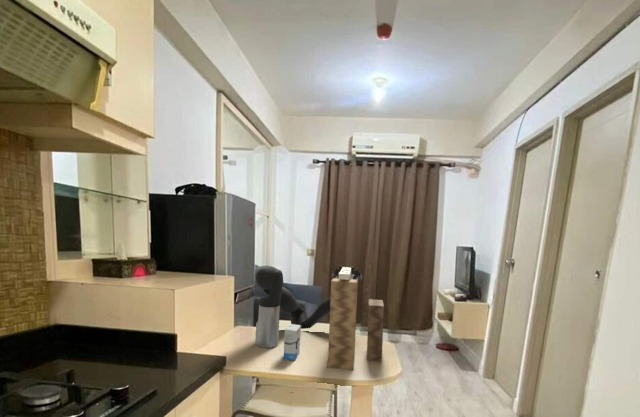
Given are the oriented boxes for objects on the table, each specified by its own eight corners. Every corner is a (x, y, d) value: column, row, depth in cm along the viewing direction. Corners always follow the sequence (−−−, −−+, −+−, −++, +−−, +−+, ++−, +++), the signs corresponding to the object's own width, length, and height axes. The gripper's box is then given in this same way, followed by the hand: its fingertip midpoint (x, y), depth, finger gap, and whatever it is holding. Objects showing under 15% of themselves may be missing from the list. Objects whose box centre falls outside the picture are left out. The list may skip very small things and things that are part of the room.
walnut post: (366, 360, 137) (368, 305, 138) (367, 349, 149) (368, 299, 150) (381, 361, 136) (383, 306, 137) (380, 350, 148) (382, 300, 149)
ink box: (294, 361, 133) (296, 330, 133) (282, 359, 134) (284, 329, 134) (300, 353, 141) (301, 324, 142) (288, 351, 142) (290, 323, 143)
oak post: (326, 367, 128) (330, 282, 130) (330, 356, 139) (333, 277, 141) (353, 369, 127) (356, 283, 128) (354, 358, 138) (357, 279, 139)
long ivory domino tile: (338, 279, 128) (338, 273, 128) (342, 271, 149) (342, 266, 150) (349, 279, 127) (349, 274, 127) (351, 272, 149) (351, 267, 149)
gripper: (362, 291, 154) (363, 277, 140) (331, 289, 156) (328, 275, 142) (363, 276, 158) (363, 260, 144) (333, 274, 160) (330, 258, 146)
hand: (346, 268), depth 143 cm, fingers closed on long ivory domino tile, 4 cm apart
